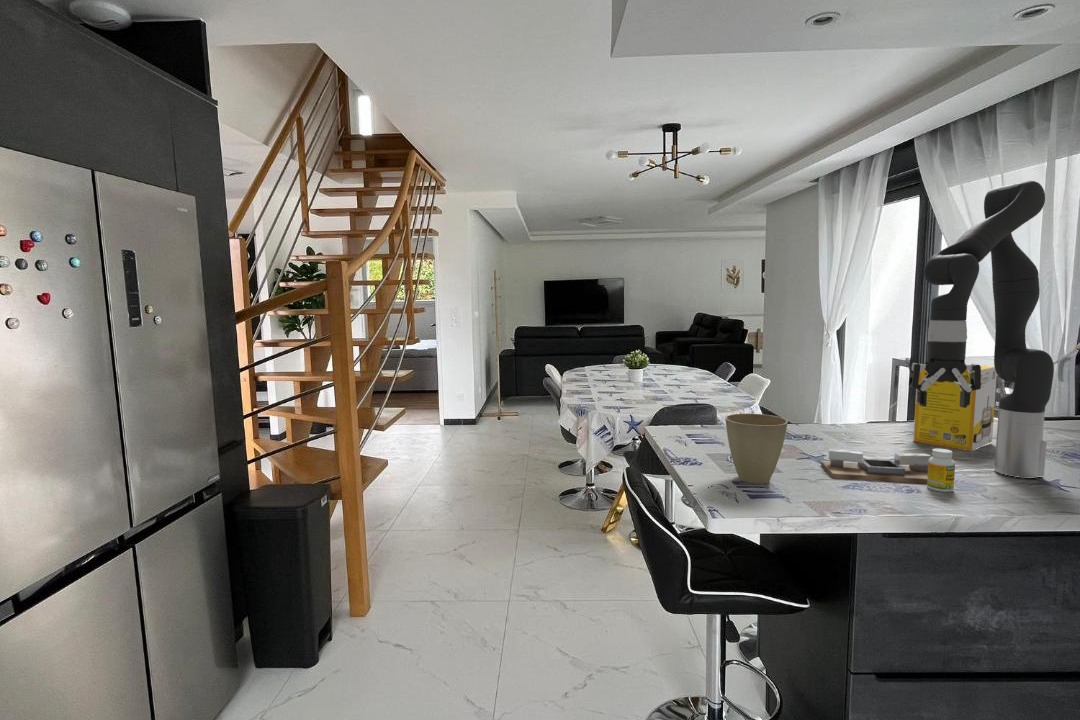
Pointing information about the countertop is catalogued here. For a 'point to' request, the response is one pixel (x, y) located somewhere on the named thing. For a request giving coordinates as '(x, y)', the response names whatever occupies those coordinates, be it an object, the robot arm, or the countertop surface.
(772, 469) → the plant pot
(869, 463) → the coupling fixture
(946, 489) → the supplement bottle
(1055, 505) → the countertop surface
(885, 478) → the walnut base board
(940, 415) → the packaging box
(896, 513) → the countertop surface
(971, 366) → the robot arm
